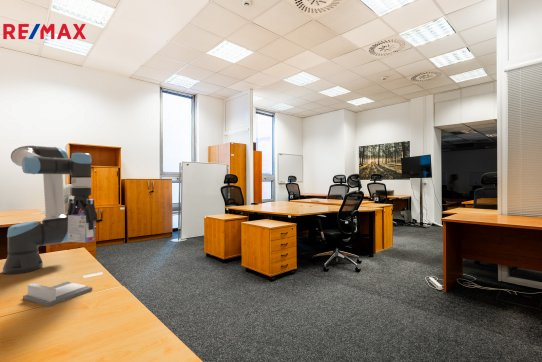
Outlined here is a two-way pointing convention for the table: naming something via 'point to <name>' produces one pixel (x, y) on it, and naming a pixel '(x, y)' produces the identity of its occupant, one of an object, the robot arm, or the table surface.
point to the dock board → (60, 298)
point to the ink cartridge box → (78, 228)
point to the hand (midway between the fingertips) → (81, 236)
